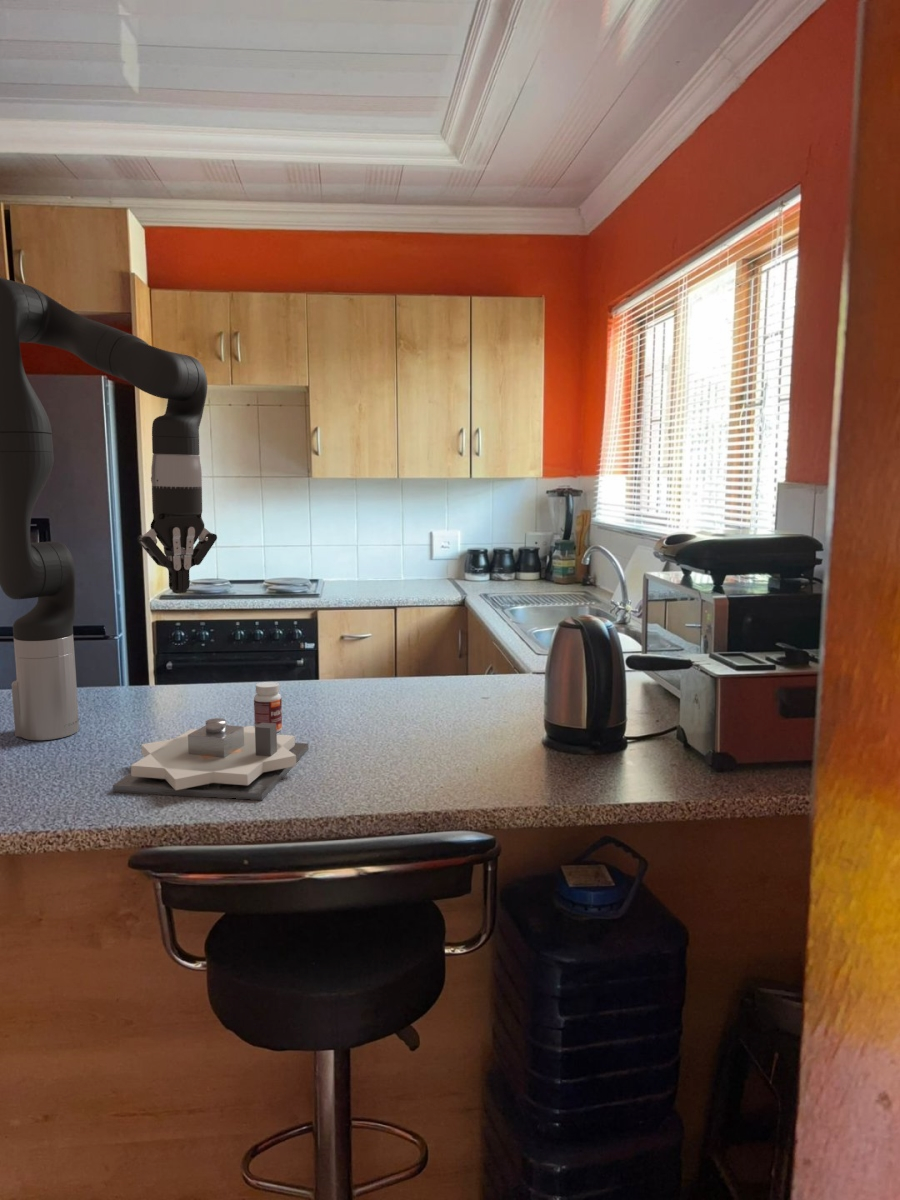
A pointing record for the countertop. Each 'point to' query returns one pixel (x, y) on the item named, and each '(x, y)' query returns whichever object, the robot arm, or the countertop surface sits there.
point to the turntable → (217, 759)
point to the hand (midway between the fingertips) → (179, 592)
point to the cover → (216, 739)
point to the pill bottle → (268, 704)
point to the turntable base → (210, 784)
